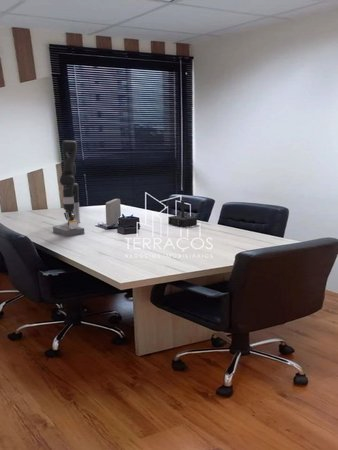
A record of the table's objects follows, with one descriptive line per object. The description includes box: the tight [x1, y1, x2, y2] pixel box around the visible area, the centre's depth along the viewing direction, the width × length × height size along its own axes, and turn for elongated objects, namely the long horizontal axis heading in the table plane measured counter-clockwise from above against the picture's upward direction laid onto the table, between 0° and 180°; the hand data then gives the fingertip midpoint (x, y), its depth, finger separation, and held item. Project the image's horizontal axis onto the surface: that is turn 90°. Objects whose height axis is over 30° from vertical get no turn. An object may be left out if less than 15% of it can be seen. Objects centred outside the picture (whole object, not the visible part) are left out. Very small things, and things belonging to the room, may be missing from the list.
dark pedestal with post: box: [167, 199, 198, 228], centre depth 341 cm, size 19×17×20 cm
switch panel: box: [52, 224, 85, 237], centre depth 316 cm, size 22×14×4 cm, turn 42°
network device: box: [105, 198, 122, 226], centre depth 343 cm, size 26×9×20 cm, turn 168°
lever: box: [69, 220, 78, 229], centre depth 309 cm, size 3×5×6 cm, turn 132°
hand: (69, 225), depth 313 cm, fingers closed
